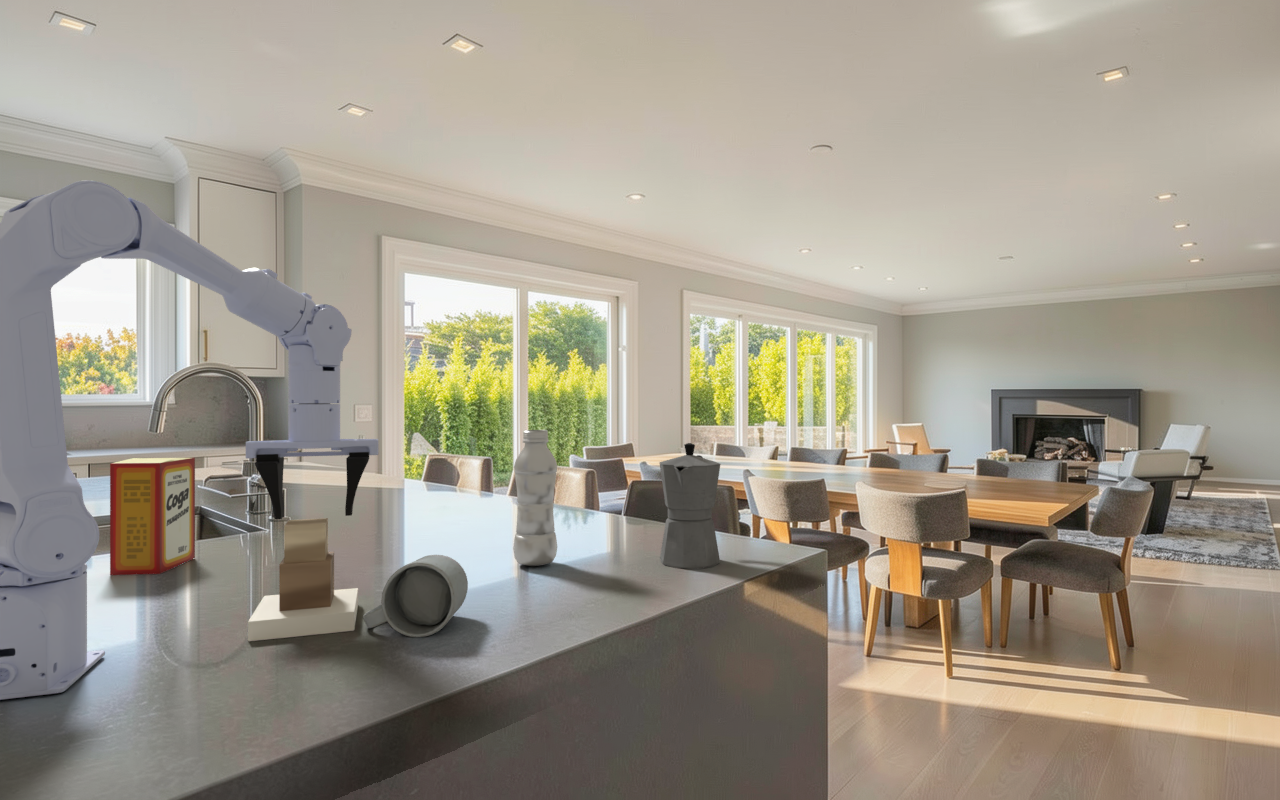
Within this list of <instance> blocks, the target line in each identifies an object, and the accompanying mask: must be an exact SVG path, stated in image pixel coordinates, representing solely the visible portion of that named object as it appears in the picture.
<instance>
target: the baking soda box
mask: <svg viewBox="0 0 1280 800" xmlns="http://www.w3.org/2000/svg"><path fill="white" fill-rule="evenodd" d="M109 487H110V488H109V575H110V576H121V575H122V576H125V575H127V576H129V575H131V576H132V575H161V574H162V573H165V572H168V571H169V570H173V569H174V567H175V568H177V567H179V566H181V565H180V564H182V563H184V562H186V563H188V562H187V561H189V560H191V559H193V558H196V489H195V488H196V458H195V457H147V458H144V457H143V458H142V457H137V458H136V457H133V458H128V459H124V460H120V461H116V462H115V461H114V462H112V463H110V464H109ZM193 560H194V559H193ZM191 561H192V560H191ZM189 562H190V561H189ZM184 564H185V563H184ZM178 565H179V566H178ZM182 565H183V564H182Z"/></svg>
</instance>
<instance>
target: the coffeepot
mask: <svg viewBox="0 0 1280 800" xmlns="http://www.w3.org/2000/svg"><path fill="white" fill-rule="evenodd" d="M683 446H684V450H685V455H681V456H678V457H674V458H671V459H666V460H663V461H662V460H661V461H659V467H660V468H659V469H660V475H661V482H662V483H661V484H662V490H663V499H664V505H665V506H666V507H667V518H666V519H665V524H664V531H663V537H662V542H661V548H660V549H661V550H660V555H659V560H660V562H661V564H662V565H664V566H667V567H671V568H675V569H682V570H683V569H684V570H685V569H688V570H690V569H691V570H698V569H707V568H714V567H716V566H717V565H718V564H719V563H721V559H720V553H719V548H718V547H719V546H718V542H717V535H716V528H715V523H714V522H715V521H714V519H713V518H712V511H713V509H712V508H714V507H715V504H716V497H717V490H718V484H719V483H718V482H719V476H720V469H721V465H722V464H721V463H719V462H717V461H715V460H711V459H708V458H704V457H703V456H702V455H698V454H697V455H694V453H695V447H696V444H694V443H691V442H688V443H685V444H683Z"/></svg>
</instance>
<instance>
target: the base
mask: <svg viewBox="0 0 1280 800" xmlns="http://www.w3.org/2000/svg"><path fill="white" fill-rule="evenodd" d="M358 607H359V588H358V587H353V588H343V589H334V597H333V600H332V604H331V607H322V608H311V609H300V610H289V611H279V594H272V595H271V594H270V595H269V594H268V595H264V596H263V597H262V599H261V601H260V602H259V603H258V605H257V606H256V608H255V610H254V611H253V613H252V614H251V616H250V618H249V619H248V622H247V641H248V642H255V641H264V640H265V641H266V640H273V639H275V640H276V639H284V638H285V639H286V638H294V637H295V638H296V637H303V636H306V637H307V636H314V635H324V634H325V635H326V634H332V633H333V634H334V633H335V634H336V633H344V632H354V631H355V628H356V621H357V615H358V614H357V613H358V610H359V609H358Z"/></svg>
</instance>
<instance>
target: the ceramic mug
mask: <svg viewBox="0 0 1280 800" xmlns="http://www.w3.org/2000/svg"><path fill="white" fill-rule="evenodd" d="M468 586H469V582H468V576H467V573H466V571H465V570H464V567H462V566H461V564H460V563H459V562H458V561H457V560H456V559H454V558H452V557H450V556H447V555H443V554H430V555H426V556H422V557H420V558H418V559H416V560H414V561H411V562H410V563H406V564H404V565H403V566H401V567H399V568H398V569H397V570H395V571H394V572H393V573H392V574H391V576H390V577H389V578H388V579H387V581H386V582H385V585H384V587H383V589H382V592H381V600H380V601H381V604H380V605H377V606H376V607H374V608H372V609H370V610H368V611H366V613H364V614H363V616H362V618H363V621H364V623H365V625H366V627H367V629H372V628H375V627H377V626H380V625H382V624H385V623H386V622H387V623H388V624H389V625H390V627H391V628H392V629H394V631H396V632H397V633H399V634H401V635H403V636H406V637H409V638H410V637H411V638H423V637H424V638H425V637H428V636H431V635H434V634H436V633H438V632H439V631H441V629H443V628H444V627H445V626H446V625H447V624H448V622H449V621H450V620H451V619H452V618H453V617H454V615H455V614H456V613H457V612H458V611H459V610H460V609H461V607H462V606H463V603H464V601H466V598H467V593H468V589H469V587H468Z"/></svg>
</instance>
